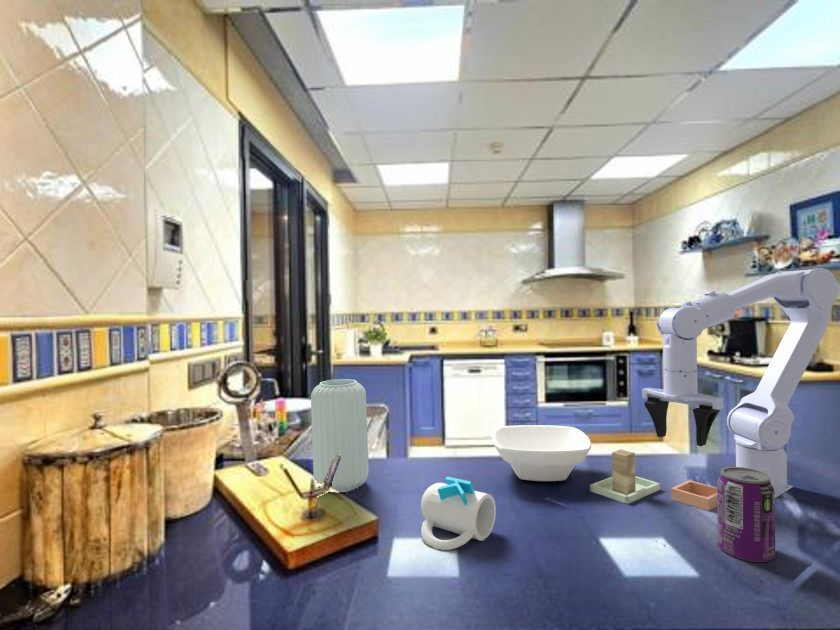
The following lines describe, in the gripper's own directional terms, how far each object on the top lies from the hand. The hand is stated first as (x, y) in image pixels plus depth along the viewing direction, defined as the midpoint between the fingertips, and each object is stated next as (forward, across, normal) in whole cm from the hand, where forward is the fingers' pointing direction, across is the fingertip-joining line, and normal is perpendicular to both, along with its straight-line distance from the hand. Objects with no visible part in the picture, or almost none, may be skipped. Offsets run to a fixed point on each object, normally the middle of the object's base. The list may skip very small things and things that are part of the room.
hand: (680, 440), depth 95 cm
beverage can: (+11, +17, -15) cm, 25 cm away
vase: (+11, -46, -50) cm, 69 cm away
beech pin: (+10, -7, -8) cm, 15 cm away
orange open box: (+10, +4, -2) cm, 11 cm away
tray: (+10, -7, -8) cm, 15 cm away
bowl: (+11, -24, -13) cm, 29 cm away
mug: (+11, -15, -45) cm, 49 cm away
